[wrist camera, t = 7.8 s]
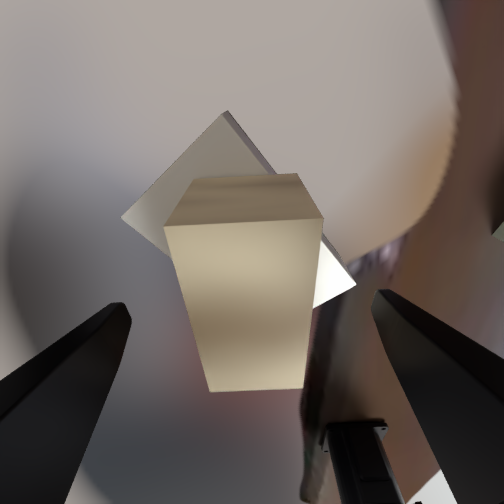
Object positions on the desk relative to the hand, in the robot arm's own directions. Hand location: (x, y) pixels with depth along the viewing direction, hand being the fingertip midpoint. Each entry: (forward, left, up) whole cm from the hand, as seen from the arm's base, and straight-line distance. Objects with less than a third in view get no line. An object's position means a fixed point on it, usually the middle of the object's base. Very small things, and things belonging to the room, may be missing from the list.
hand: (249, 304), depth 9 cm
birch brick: (0, 0, -3) cm, 3 cm away
